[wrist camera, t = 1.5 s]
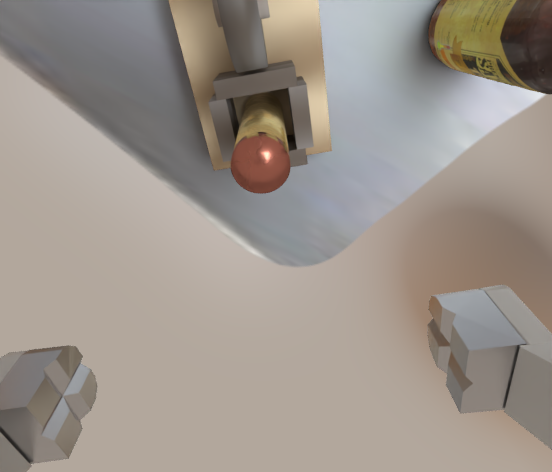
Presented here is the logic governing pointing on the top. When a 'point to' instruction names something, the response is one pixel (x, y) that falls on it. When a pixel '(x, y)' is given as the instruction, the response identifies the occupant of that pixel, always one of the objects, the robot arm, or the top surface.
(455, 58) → the sauce bottle
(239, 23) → the block
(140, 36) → the top surface
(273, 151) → the pin
